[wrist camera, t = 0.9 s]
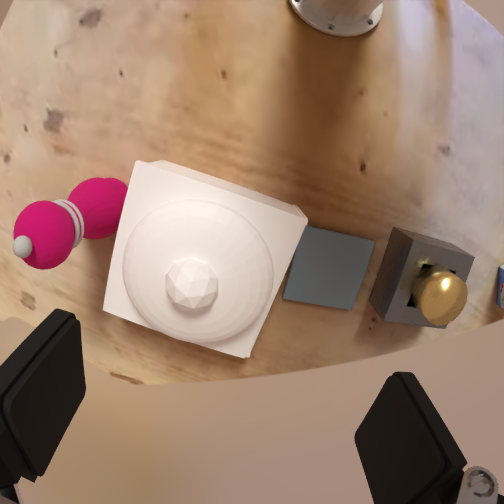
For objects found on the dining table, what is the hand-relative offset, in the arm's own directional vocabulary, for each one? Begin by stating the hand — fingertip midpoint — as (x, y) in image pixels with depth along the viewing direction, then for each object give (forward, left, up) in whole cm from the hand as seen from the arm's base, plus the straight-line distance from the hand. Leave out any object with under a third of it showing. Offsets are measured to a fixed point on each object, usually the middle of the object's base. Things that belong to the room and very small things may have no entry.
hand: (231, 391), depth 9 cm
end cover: (+4, +26, -31) cm, 41 cm away
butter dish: (+7, -4, -33) cm, 33 cm away
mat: (+6, +13, -32) cm, 35 cm away
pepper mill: (+3, -17, -32) cm, 37 cm away
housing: (+4, +26, -32) cm, 41 cm away
